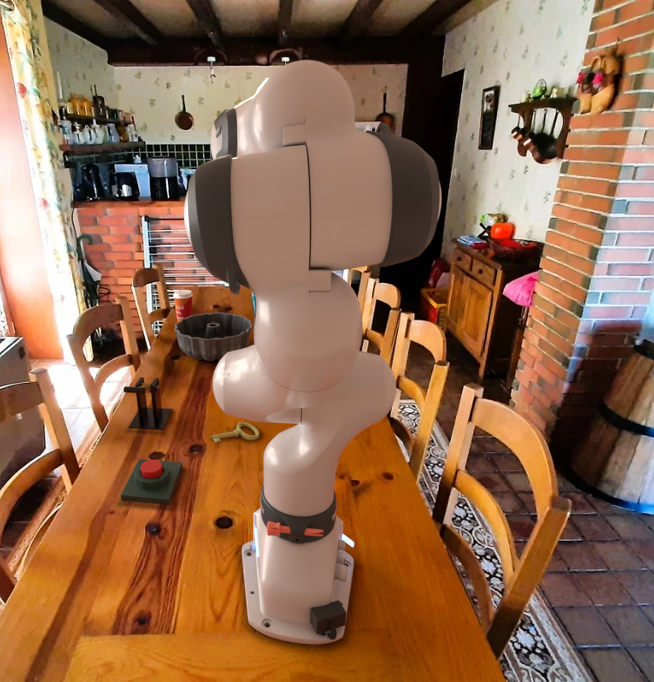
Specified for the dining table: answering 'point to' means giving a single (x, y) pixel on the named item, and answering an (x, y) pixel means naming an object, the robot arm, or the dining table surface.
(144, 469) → the button
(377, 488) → the dining table surface
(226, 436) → the key
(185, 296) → the paper cup
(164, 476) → the switch box
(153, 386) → the lever bracket
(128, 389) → the lever
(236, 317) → the bundt pan
